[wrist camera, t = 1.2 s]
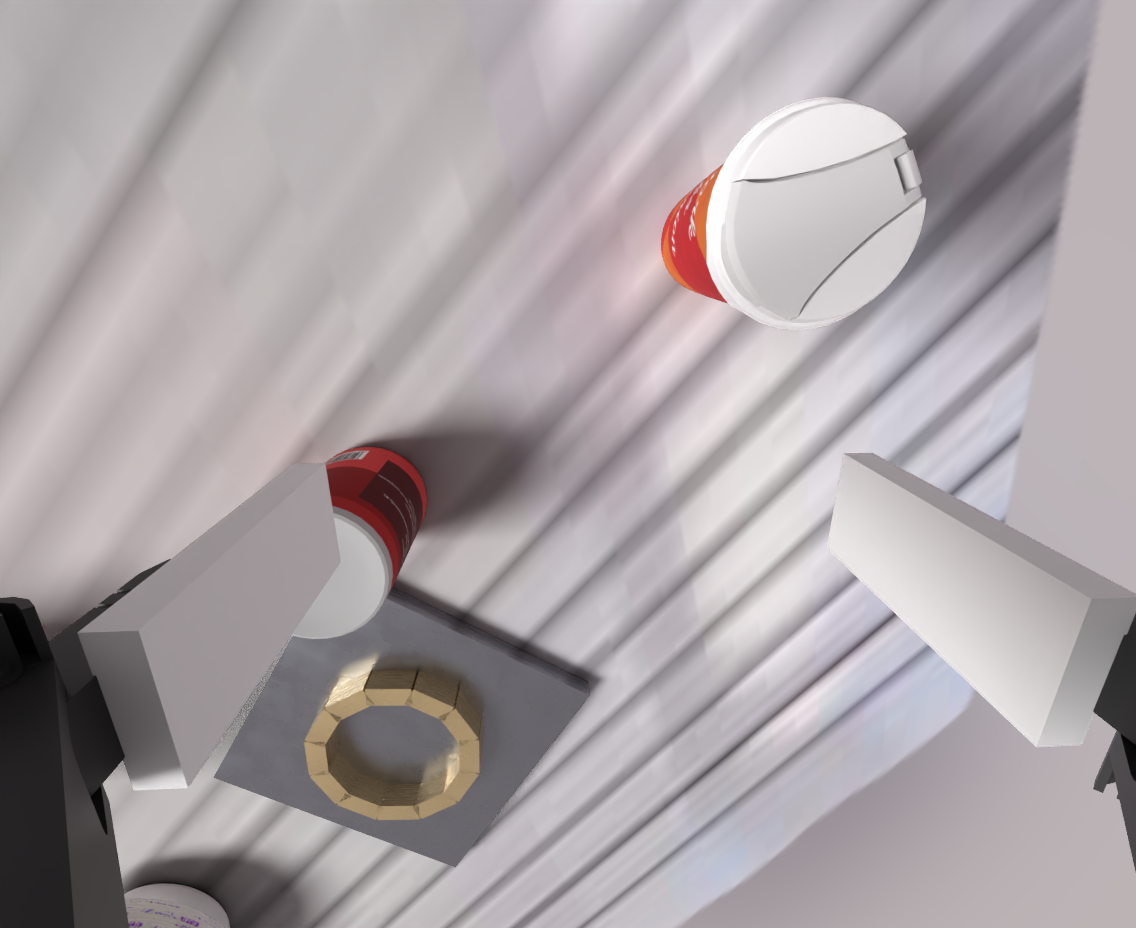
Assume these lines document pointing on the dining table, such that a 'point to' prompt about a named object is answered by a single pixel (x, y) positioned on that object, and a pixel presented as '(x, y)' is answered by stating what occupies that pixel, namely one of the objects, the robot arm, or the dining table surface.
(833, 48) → the dining table surface
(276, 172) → the dining table surface
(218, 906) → the paper bowls
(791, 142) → the coffee cup
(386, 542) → the canned food
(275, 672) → the collar plate
